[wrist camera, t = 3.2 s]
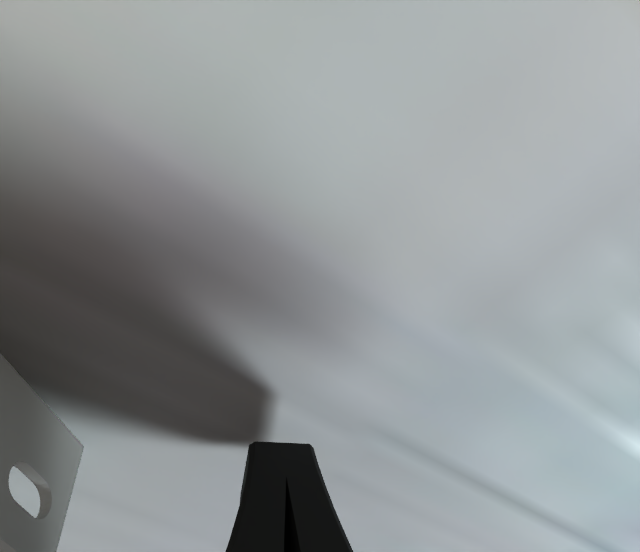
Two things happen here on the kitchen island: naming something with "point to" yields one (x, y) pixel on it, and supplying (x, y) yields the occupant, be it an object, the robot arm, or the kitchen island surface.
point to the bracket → (33, 465)
